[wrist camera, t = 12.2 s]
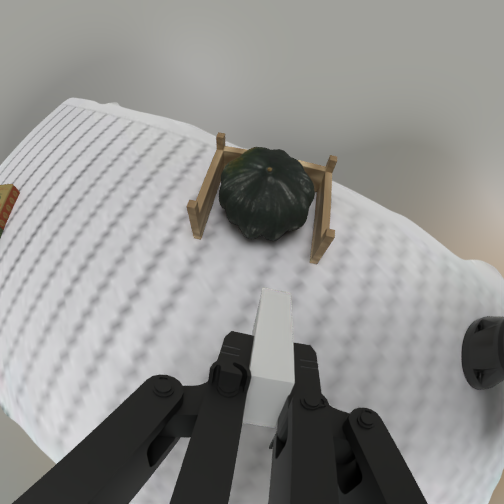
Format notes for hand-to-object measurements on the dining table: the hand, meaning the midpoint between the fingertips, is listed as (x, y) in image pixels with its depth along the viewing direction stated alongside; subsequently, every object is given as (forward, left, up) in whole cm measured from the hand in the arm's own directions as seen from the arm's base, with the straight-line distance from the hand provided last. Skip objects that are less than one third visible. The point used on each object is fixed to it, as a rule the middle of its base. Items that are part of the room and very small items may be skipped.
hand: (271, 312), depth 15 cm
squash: (+2, -24, -26) cm, 35 cm away
